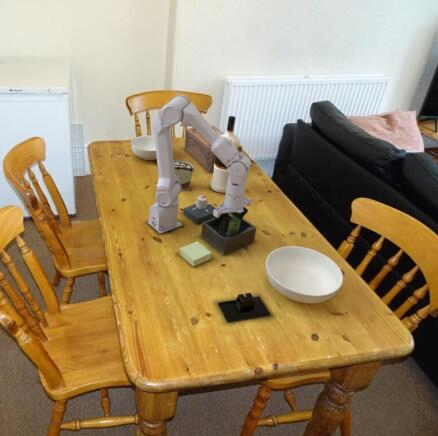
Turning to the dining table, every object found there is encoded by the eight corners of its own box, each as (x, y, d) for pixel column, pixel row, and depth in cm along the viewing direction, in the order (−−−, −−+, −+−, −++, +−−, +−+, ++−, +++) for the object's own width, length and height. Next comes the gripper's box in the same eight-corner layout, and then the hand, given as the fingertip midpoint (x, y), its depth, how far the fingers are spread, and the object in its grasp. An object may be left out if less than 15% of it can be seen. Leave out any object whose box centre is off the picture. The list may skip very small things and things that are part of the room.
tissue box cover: (238, 167, 182) (242, 146, 176) (209, 172, 177) (212, 151, 172) (211, 145, 202) (213, 125, 196) (184, 148, 197) (186, 128, 192)
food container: (192, 182, 169) (195, 160, 163) (192, 190, 164) (195, 167, 158) (162, 180, 170) (164, 158, 164) (161, 187, 165) (163, 165, 159)
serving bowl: (247, 271, 124) (251, 253, 120) (304, 257, 130) (310, 240, 126) (290, 321, 108) (296, 302, 104) (352, 302, 114) (360, 284, 110)
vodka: (213, 180, 171) (222, 110, 154) (235, 185, 168) (247, 114, 151) (207, 190, 164) (216, 118, 147) (230, 196, 161) (242, 122, 144)
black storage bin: (223, 255, 130) (226, 240, 127) (200, 236, 138) (202, 222, 135) (253, 241, 137) (256, 227, 133) (229, 225, 144) (232, 211, 141)
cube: (228, 235, 133) (230, 224, 130) (219, 229, 136) (220, 217, 133) (238, 231, 135) (240, 220, 132) (229, 225, 138) (231, 213, 135)
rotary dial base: (197, 224, 144) (197, 218, 142) (180, 211, 150) (181, 205, 149) (218, 216, 149) (219, 210, 147) (201, 204, 155) (202, 198, 154)
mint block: (193, 266, 125) (194, 260, 124) (179, 254, 130) (180, 248, 128) (210, 259, 128) (211, 252, 127) (196, 247, 133) (197, 241, 132)
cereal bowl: (147, 168, 178) (148, 153, 175) (123, 155, 188) (123, 141, 185) (175, 157, 188) (176, 143, 184) (150, 146, 198) (151, 132, 194)
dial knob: (200, 210, 147) (201, 200, 145) (194, 205, 150) (195, 196, 147) (208, 207, 149) (209, 198, 147) (201, 202, 151) (202, 193, 149)
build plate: (258, 297, 115) (262, 285, 113) (271, 316, 109) (274, 304, 107) (217, 303, 112) (219, 291, 110) (227, 323, 107) (230, 311, 104)
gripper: (226, 205, 121) (220, 241, 129) (261, 192, 128) (253, 227, 135) (210, 194, 126) (206, 230, 133) (244, 182, 133) (238, 217, 140)
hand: (228, 228), depth 135 cm, fingers closed on cube, 4 cm apart
